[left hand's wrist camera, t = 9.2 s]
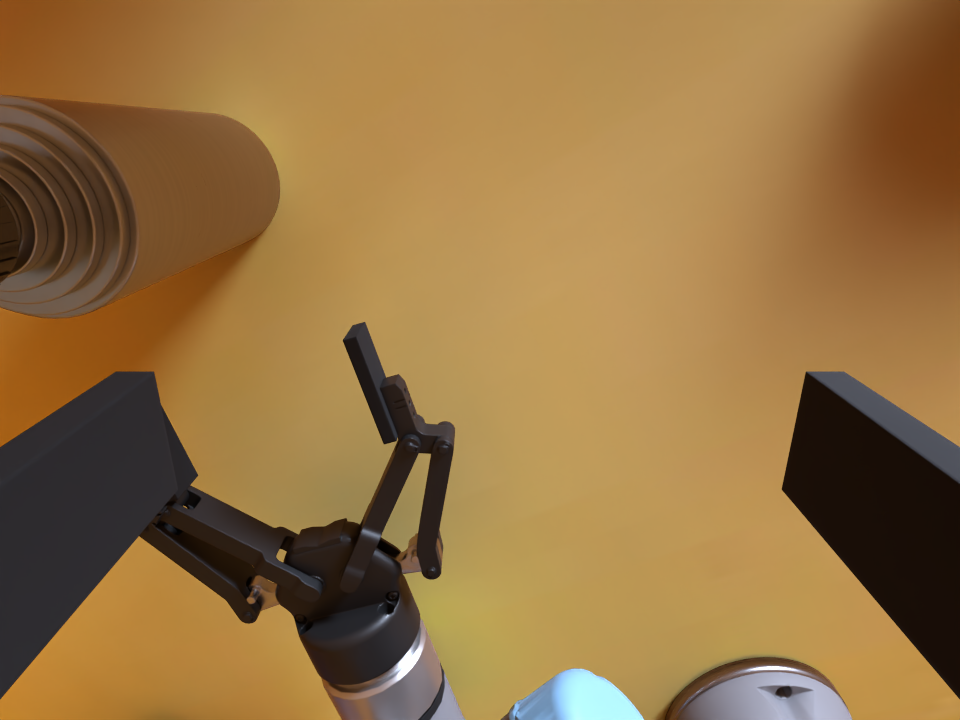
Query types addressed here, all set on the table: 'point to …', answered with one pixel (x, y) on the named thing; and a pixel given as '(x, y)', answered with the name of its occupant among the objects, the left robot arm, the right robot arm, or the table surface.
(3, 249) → the cap
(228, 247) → the bottle
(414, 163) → the table surface
